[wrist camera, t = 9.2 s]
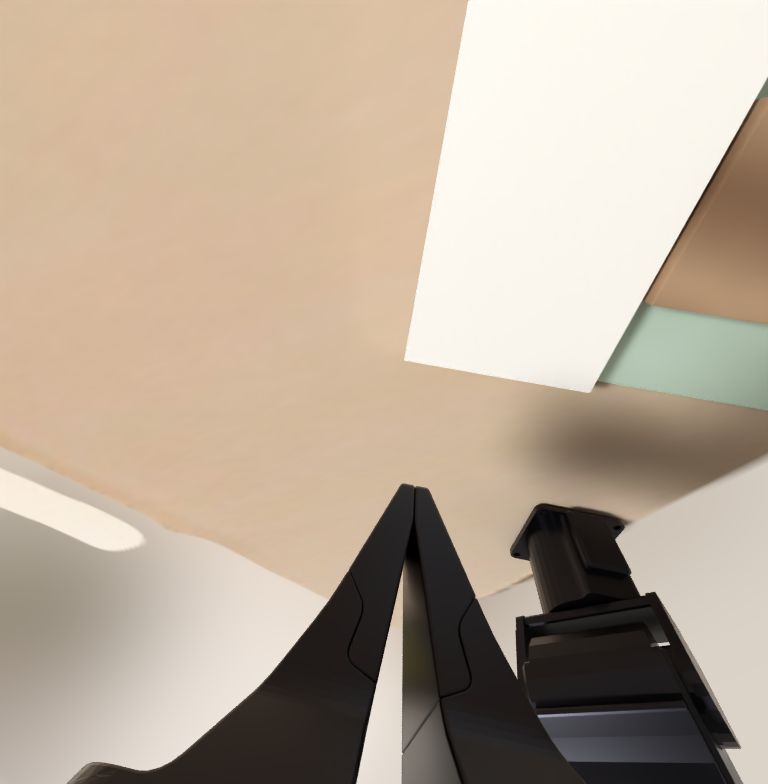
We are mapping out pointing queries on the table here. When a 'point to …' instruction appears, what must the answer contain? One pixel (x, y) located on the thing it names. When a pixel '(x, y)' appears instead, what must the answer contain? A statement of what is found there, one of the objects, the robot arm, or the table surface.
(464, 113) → the plate
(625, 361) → the mat
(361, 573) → the robot arm
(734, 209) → the tile
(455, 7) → the table surface
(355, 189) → the table surface
